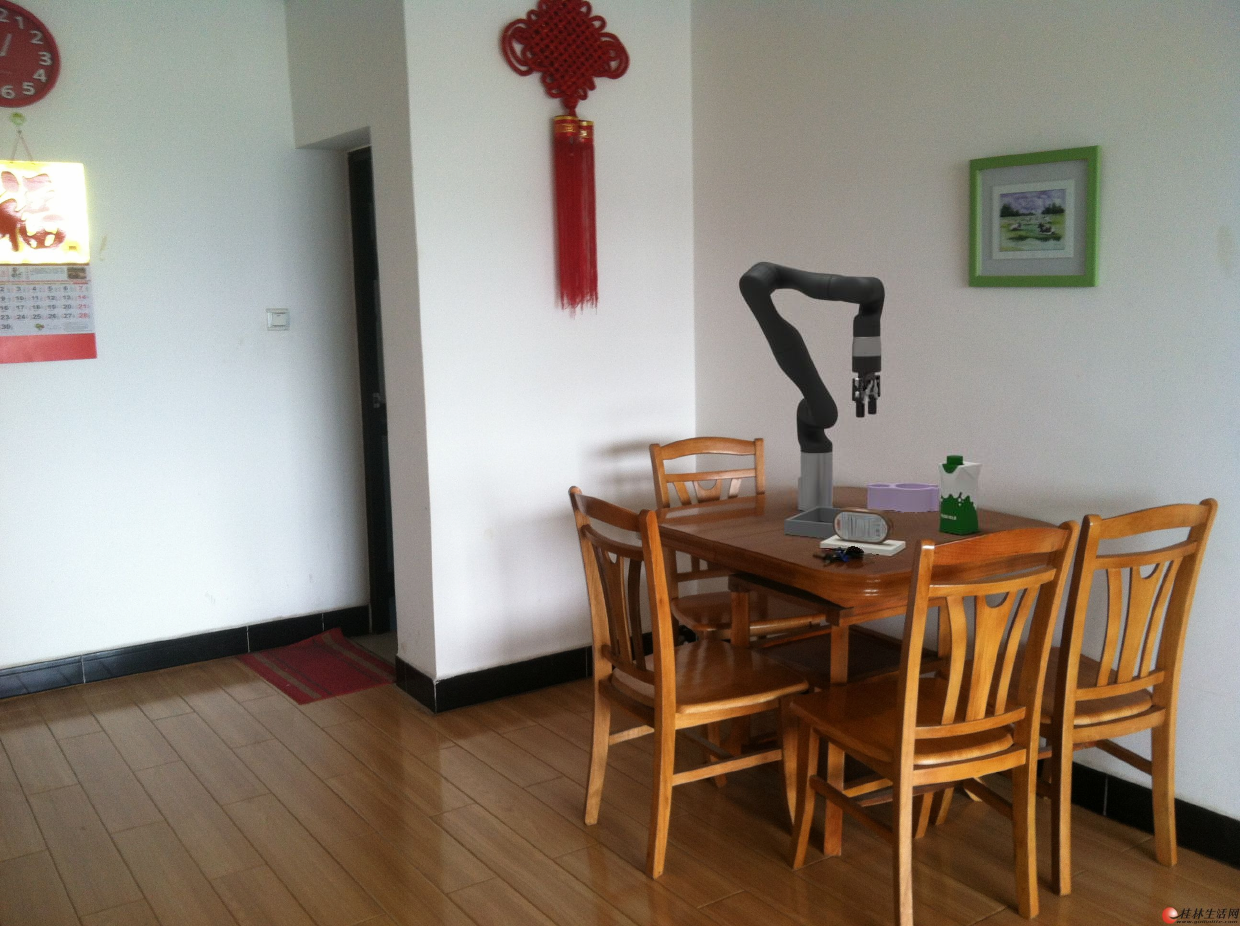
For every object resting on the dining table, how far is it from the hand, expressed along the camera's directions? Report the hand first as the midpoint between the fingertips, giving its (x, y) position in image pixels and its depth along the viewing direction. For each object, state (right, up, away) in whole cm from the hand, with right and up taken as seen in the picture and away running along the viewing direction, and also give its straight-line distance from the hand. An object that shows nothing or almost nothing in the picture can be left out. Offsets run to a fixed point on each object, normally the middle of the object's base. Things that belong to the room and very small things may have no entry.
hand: (866, 415), depth 281 cm
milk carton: (+23, -30, -3) cm, 39 cm away
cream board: (-5, -33, -19) cm, 39 cm away
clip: (+17, -26, +29) cm, 43 cm away
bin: (-10, -30, +3) cm, 32 cm away
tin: (-5, -32, -19) cm, 38 cm away
